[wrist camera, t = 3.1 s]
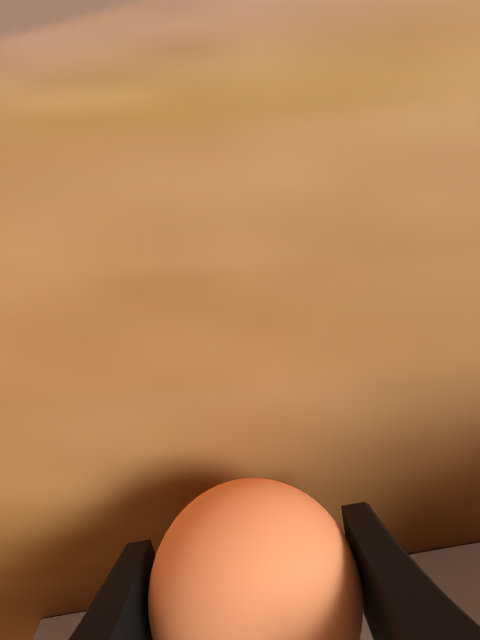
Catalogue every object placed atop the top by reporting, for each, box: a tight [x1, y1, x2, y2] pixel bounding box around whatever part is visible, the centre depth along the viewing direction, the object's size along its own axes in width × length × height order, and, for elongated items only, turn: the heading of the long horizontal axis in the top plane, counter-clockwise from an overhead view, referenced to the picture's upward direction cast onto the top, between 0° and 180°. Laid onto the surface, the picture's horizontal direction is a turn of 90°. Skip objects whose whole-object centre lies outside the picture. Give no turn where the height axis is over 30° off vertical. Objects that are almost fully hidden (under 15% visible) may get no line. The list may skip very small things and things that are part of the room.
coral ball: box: [148, 478, 363, 640], centre depth 11 cm, size 5×5×5 cm
